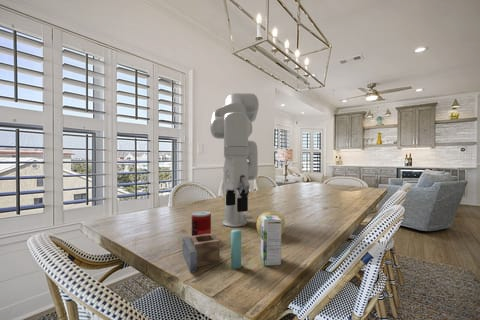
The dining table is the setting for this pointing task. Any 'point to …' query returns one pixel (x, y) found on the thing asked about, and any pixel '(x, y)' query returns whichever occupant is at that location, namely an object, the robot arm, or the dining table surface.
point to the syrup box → (270, 240)
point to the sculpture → (270, 214)
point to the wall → (190, 254)
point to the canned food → (201, 223)
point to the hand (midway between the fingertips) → (236, 208)
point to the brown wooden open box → (206, 248)
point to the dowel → (236, 248)
